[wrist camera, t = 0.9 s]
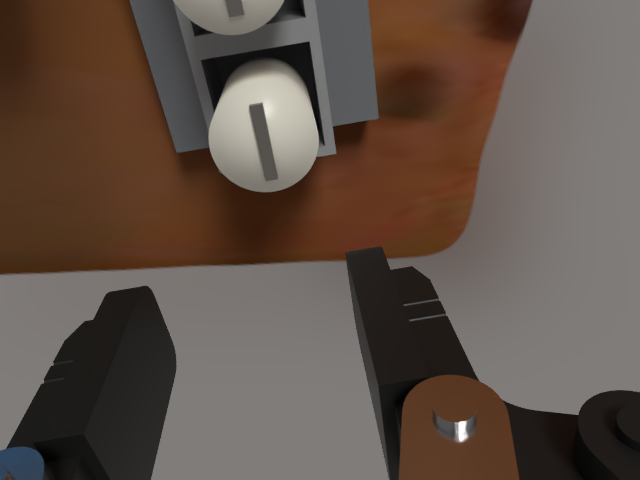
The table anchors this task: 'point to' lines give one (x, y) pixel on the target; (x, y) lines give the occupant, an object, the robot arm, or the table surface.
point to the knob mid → (229, 14)
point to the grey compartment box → (267, 41)
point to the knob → (264, 126)
